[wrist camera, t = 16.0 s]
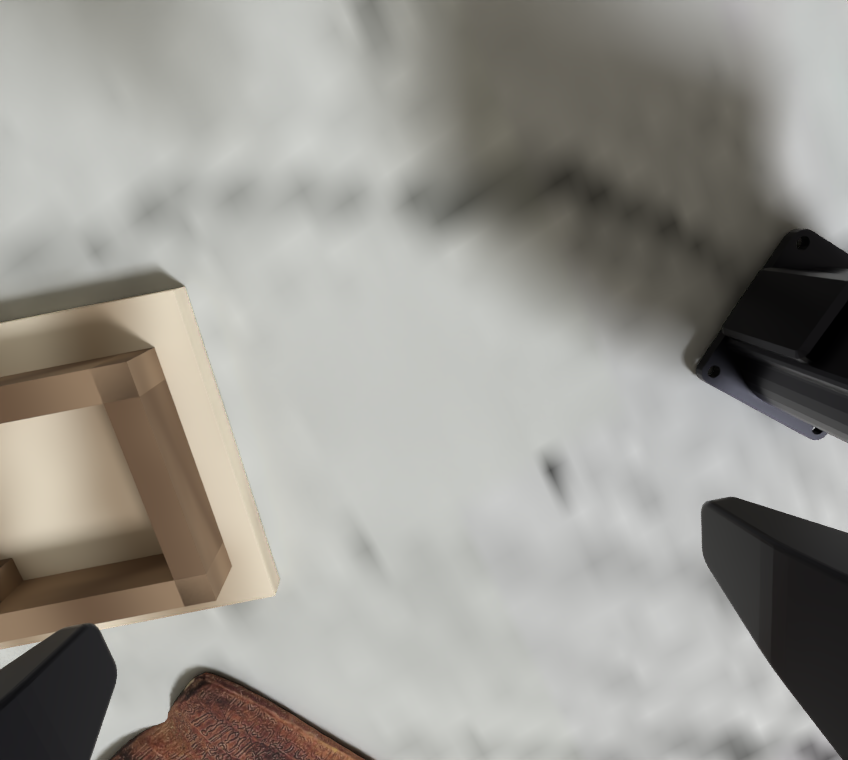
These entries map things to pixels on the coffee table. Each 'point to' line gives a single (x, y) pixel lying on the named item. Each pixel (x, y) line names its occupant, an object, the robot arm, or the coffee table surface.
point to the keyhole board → (119, 473)
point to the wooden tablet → (230, 729)
